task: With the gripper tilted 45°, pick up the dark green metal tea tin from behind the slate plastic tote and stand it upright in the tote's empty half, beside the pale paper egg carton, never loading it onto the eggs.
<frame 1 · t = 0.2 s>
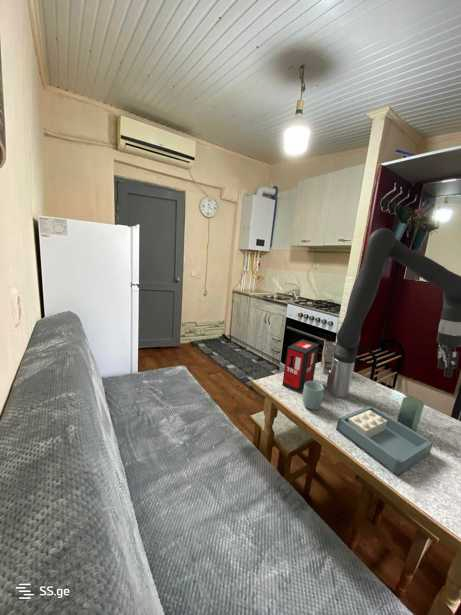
hand: (444, 372, 98), 23 cm above the table, tool pointing down, fingers open, 8 cm apart
coffee box: (327, 370, 143), on the table
tote: (380, 441, 90), on the table
tea tin: (405, 430, 98), on the table
cleaning product box: (298, 383, 127), on the table
egg carton: (365, 431, 95), resting on tote
cup: (310, 407, 108), on the table
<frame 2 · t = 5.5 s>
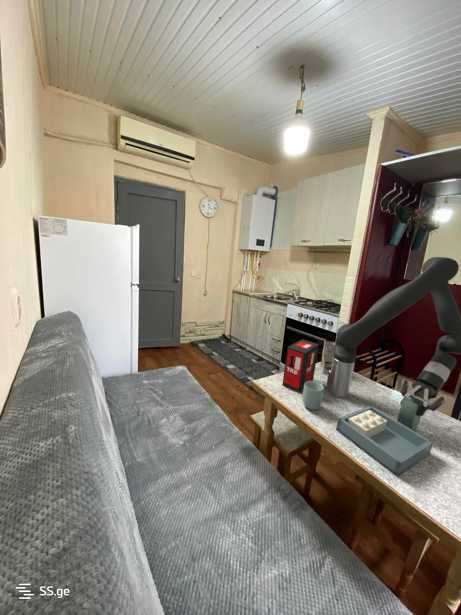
hand: (410, 410, 95), 9 cm above the table, tool tilted 45°, fingers closed on tea tin, 5 cm apart
tea tin: (405, 429, 98), on the table, touching gripper
everything else where it was.
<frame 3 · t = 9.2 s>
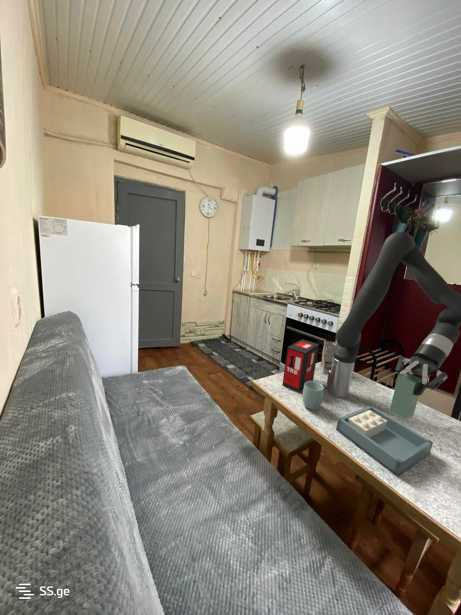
hand: (406, 389, 82), 23 cm above the table, tool tilted 45°, fingers closed on tea tin, 5 cm apart
tea tin: (401, 412, 84), point 14 cm above the table, touching gripper
everything else where it was.
when the fingers open (11 cm above the table, at t = 12.6 s): tea tin drops 1 cm, resting on tote.
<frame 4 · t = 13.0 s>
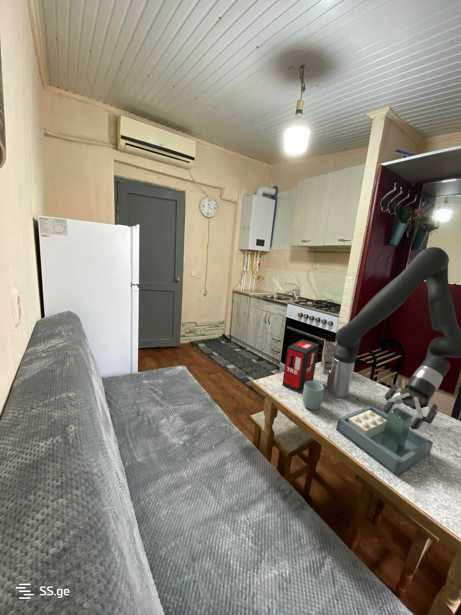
hand: (398, 420, 84), 12 cm above the table, tool tilted 45°, fingers open, 8 cm apart
tea tin: (392, 446, 87), point 1 cm above the table, touching tote
everything else where it was.
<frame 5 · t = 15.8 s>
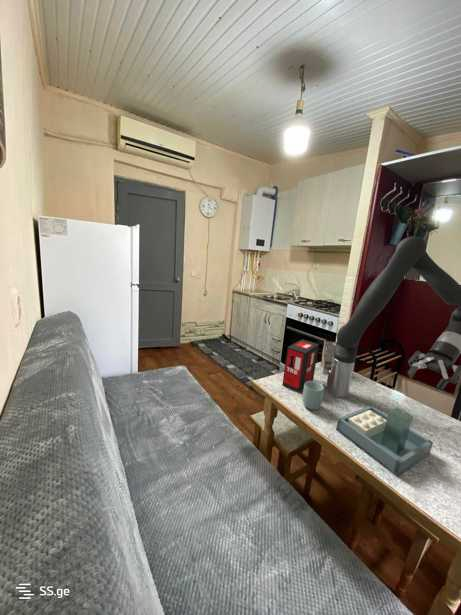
hand: (423, 382, 87), 23 cm above the table, tool tilted 45°, fingers open, 8 cm apart
nothing on the table moved.
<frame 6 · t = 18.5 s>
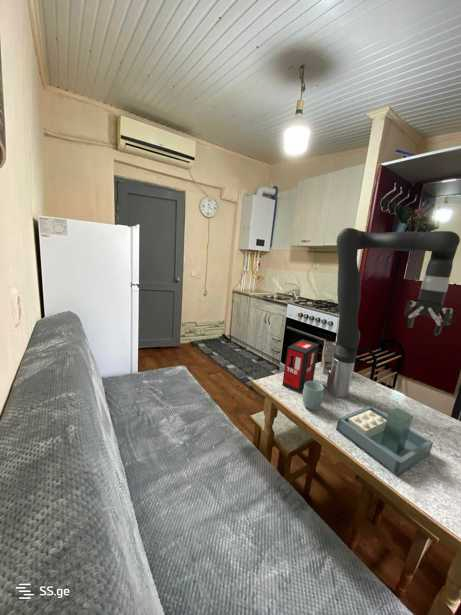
hand: (422, 331, 96), 38 cm above the table, tool pointing down, fingers open, 8 cm apart
nothing on the table moved.
at the end: tea tin inside the target area on the tote (0.8 cm from its centre), point 1.0 cm above the tote's base; tea tin tilted 0°; the gripper is holding nothing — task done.
